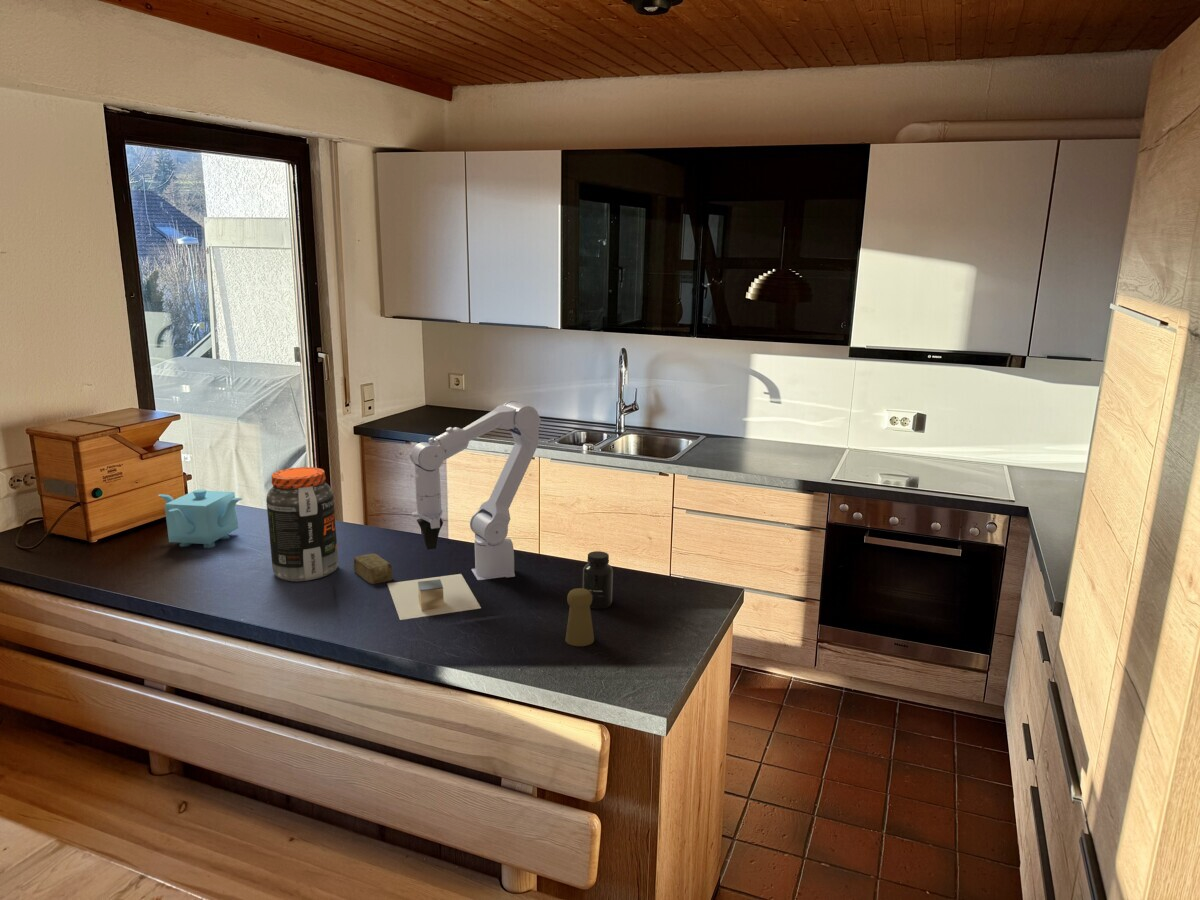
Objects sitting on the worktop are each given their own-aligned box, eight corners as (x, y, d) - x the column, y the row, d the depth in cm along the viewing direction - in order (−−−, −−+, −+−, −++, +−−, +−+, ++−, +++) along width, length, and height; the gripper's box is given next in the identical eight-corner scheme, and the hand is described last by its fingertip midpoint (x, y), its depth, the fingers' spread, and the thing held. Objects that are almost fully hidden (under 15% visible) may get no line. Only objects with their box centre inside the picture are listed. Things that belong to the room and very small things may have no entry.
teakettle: (230, 526, 247) (225, 478, 244) (249, 543, 232) (244, 492, 229) (159, 539, 236) (153, 489, 232) (174, 558, 221) (167, 504, 218)
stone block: (372, 588, 203) (371, 568, 202) (352, 574, 211) (351, 555, 210) (394, 582, 206) (393, 563, 205) (374, 569, 215) (373, 550, 214)
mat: (461, 576, 210) (461, 573, 210) (481, 610, 190) (481, 608, 190) (387, 585, 204) (387, 583, 204) (400, 622, 184) (399, 619, 184)
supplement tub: (340, 579, 208) (333, 477, 202) (272, 587, 203) (263, 483, 197) (337, 557, 222) (330, 462, 216) (273, 564, 217) (264, 467, 211)
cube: (443, 587, 189) (443, 608, 190) (440, 579, 193) (440, 599, 194) (420, 589, 187) (421, 610, 188) (417, 581, 192) (418, 602, 193)
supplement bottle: (590, 611, 189) (591, 561, 187) (577, 601, 195) (577, 552, 193) (617, 606, 193) (618, 556, 190) (603, 595, 198) (604, 547, 196)
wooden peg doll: (564, 633, 179) (564, 585, 176) (593, 632, 179) (593, 584, 177) (566, 646, 173) (565, 596, 170) (595, 645, 173) (595, 595, 171)
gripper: (405, 487, 203) (408, 540, 206) (416, 503, 190) (419, 560, 193) (435, 484, 205) (437, 537, 209) (447, 500, 192) (450, 556, 195)
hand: (431, 548), depth 201 cm, fingers closed
